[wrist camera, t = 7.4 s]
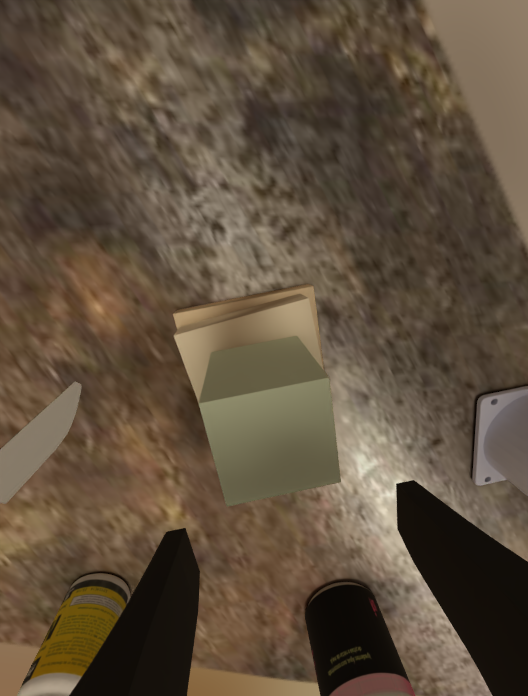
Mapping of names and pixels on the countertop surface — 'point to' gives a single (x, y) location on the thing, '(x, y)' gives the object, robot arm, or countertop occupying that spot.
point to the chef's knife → (36, 442)
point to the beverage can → (353, 644)
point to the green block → (269, 420)
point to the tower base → (236, 304)
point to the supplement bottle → (76, 634)
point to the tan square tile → (245, 333)
